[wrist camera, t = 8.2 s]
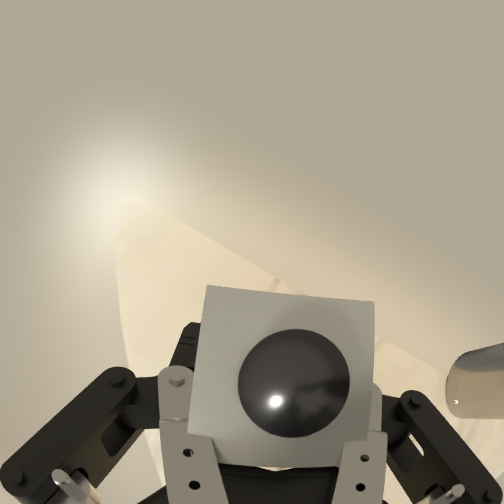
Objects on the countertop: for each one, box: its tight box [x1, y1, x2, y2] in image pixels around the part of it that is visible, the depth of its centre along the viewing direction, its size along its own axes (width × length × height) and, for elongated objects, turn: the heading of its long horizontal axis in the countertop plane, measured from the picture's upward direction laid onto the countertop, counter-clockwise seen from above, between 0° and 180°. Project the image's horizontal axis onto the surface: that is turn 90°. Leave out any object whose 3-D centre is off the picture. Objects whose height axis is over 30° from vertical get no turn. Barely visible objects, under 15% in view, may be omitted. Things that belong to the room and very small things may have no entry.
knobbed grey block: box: [187, 285, 374, 468], centre depth 11 cm, size 4×4×11 cm
